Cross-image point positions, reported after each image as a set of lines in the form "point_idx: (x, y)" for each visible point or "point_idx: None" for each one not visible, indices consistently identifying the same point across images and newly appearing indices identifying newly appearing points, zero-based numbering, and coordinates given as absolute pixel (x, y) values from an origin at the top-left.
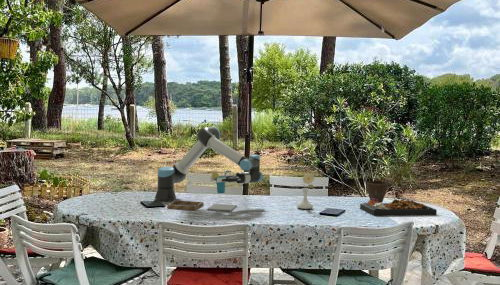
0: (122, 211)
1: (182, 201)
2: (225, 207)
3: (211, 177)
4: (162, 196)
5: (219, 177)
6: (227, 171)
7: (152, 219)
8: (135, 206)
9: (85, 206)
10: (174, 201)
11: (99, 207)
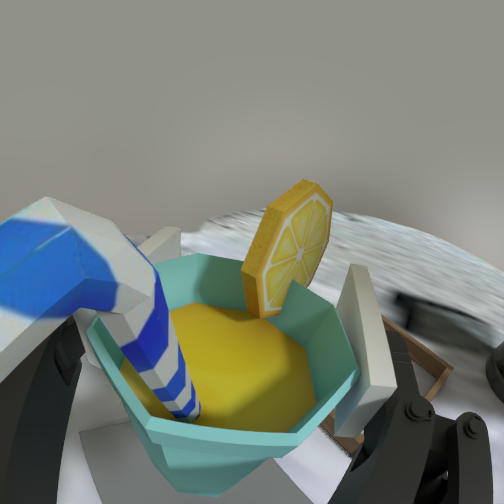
0: (356, 246)
1: (434, 384)
2: (164, 499)
3: (348, 272)
4: (499, 347)
5: (340, 386)
6: (14, 282)
7: (231, 230)
8: (415, 283)
9: (424, 245)
10: (429, 352)
11: (412, 249)
